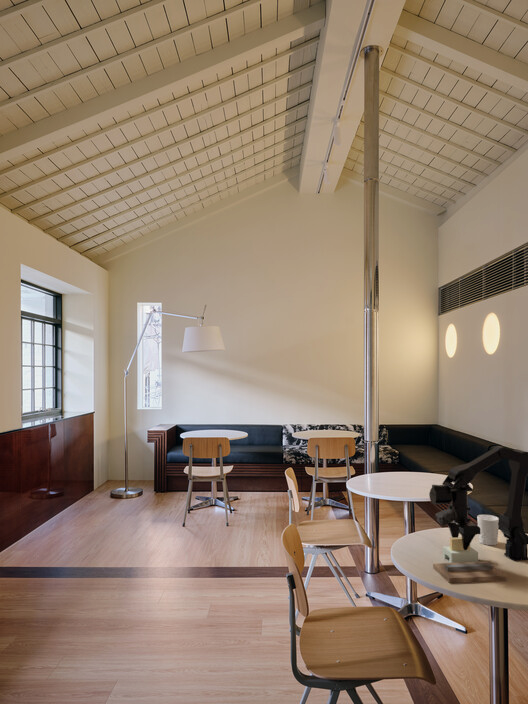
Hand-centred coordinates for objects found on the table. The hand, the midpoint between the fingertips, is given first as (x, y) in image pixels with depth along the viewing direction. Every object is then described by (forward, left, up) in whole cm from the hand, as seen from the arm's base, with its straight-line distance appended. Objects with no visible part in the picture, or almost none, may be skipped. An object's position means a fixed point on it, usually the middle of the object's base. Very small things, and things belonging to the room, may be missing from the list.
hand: (460, 546), depth 181 cm
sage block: (0, 0, -5) cm, 5 cm away
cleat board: (+3, +12, -5) cm, 13 cm away
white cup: (-20, -16, -5) cm, 26 cm away
